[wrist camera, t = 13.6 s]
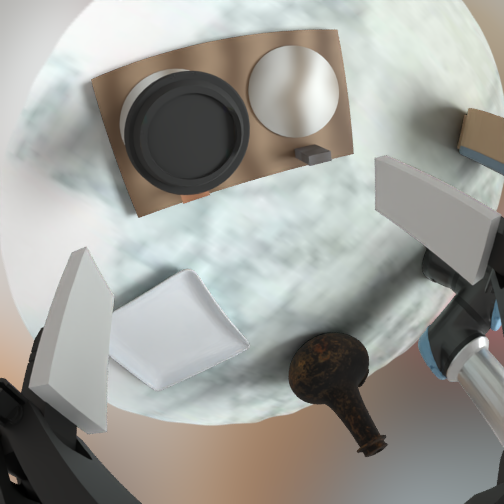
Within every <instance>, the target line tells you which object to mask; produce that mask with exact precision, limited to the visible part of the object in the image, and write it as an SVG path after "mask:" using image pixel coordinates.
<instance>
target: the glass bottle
mask: <svg viewBox="0 0 504 504" xmlns="http://www.w3.org/2000/svg"><path fill="white" fill-rule="evenodd" d="M368 367H369V356H368V353H367V350H366V348H365V347H364V345H363V344H362V343H361V342H360V341H359V340H357V339H356V338H354V337H352V336H350V335H347V334H343V333H326V334H322V335H319V336H317V337H315V338H313V339H311V340H309V341H308V342H307V343H305V344H304V345H303V346H302V347H301V348H300V349H299V350H298V352H297V353H296V354H295V356H294V358H293V360H292V361H291V364H290V368H289V384H290V387H291V389H292V391H293V392H294V394H295V395H296V396H297V397H298V398H300V399H301V400H303V401H305V402H307V403H311V404H326V405H328V406H329V407H330V408H331V409H332V410H333V411H334V412H335V413H336V414H337V415H338V417H339V418H340V419H341V420H342V422H343V423H344V424H345V426H346V427H347V428H348V430H349V431H350V432H351V434H352V435H353V437H354V439H355V440H356V442H357V443H358V445H359V446H360V448H359V449H358V450H357V452H358V453H359V452H363V453H364V455H365V457H369V456H372V455H375V454H376V453H378V452H380V451H382V450H383V449H384V448H385V447H386V446H387V443H385V442H384V439H385V438H386V435H380V433H379V432H378V430H377V428H376V426H375V424H374V422H373V421H372V419H371V417H370V415H369V413H368V411H367V409H366V407H365V405H364V403H363V400H362V398H361V395H360V392H359V389H358V387H361V386H362V384H363V383H364V382H365V380H366V378H367V376H368V373H369V369H368Z"/></svg>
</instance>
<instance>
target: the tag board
mask: <svg viewBox="0 0 504 504" xmlns="http://www.w3.org/2000/svg"><path fill="white" fill-rule="evenodd" d="M180 71H201V72H206V73H209V74H212V75H215V76H217V77H219V78H221V79H223V80H224V81H226V82H227V83H228V84H230V85H231V86H232V87H233V88H234V89H235V90H236V91H237V93H238V94H239V95H240V97H241V98H242V100H243V102H244V104H245V106H246V109H247V112H248V115H249V122H250V136H249V143H248V147H247V150H246V153H245V156H244V158H243V160H242V162H241V163H240V165H239V166H238V168H237V169H236V171H235V172H234V173H233V174H232V175H231V176H230V177H229V178H228V179H227V180H226V181H225V182H223V183H222V184H220V185H219V186H217V187H215V188H213V189H211V190H209V191H206V192H203V193H200V194H194V195H177V194H172V193H168V192H165V191H163V190H161V189H159V188H157V187H155V186H153V185H152V184H151V183H149V182H148V181H147V180H146V179H144V178H143V177H142V176H141V175H140V174H139V173H138V172H137V170H136V169H135V168H134V166H133V165H132V163H131V161H130V159H129V157H128V154H127V152H126V148H125V142H124V128H125V122H126V118H127V115H128V112H129V110H130V108H131V106H132V104H133V102H134V101H135V99H136V98H137V97H138V95H139V94H140V93H141V92H142V91H143V90H144V89H145V88H146V87H147V86H148V85H150V84H151V83H153V82H154V81H156V80H157V79H159V78H161V77H163V76H166V75H168V74H171V73H175V72H180ZM91 81H92V85H93V88H94V92H95V96H96V99H97V102H98V106H99V109H100V112H101V116H102V119H103V122H104V125H105V128H106V131H107V134H108V137H109V140H110V143H111V146H112V149H113V152H114V155H115V158H116V161H117V163H118V166H119V169H120V172H121V174H122V177H123V180H124V182H125V185H126V188H127V190H128V193H129V195H130V198H131V201H132V203H133V206H134V208H135V210H136V213H137V215H138V218H140V217H142V216H145V215H148V214H151V213H153V212H156V211H159V210H162V209H165V208H167V207H170V206H173V205H176V204H179V203H182V202H183V204H184V203H187V202H190V201H193V200H196V199H199V198H202V197H205V196H208V195H210V194H209V193H212V192H215V191H218V190H222V189H225V188H228V187H231V186H235V185H238V184H241V183H245V182H248V181H251V180H255V179H258V178H262V177H265V176H269V175H272V174H276V173H279V172H283V171H287V170H290V169H294V168H298V167H302V166H306V165H309V166H312V165H315V164H319V163H323V162H327V161H332V159H334V158H338V157H342V156H346V155H351V154H354V153H353V140H352V128H351V118H350V109H349V100H348V92H347V84H346V77H345V70H344V64H343V58H342V52H341V46H340V41H339V36H338V30H295V31H281V32H270V33H261V34H253V35H246V36H239V37H233V38H227V39H221V40H216V41H211V42H206V43H202V44H197V45H193V46H189V47H185V48H181V49H177V50H173V51H170V52H166V53H163V54H159V55H156V56H153V57H150V58H146V59H143V60H140V61H137V62H134V63H132V64H129V65H126V66H123V67H121V68H118V69H115V70H113V71H110V72H108V73H105V74H103V75H101V76H98V77H96V78H93V79H91Z"/></svg>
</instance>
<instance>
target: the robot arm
mask: <svg viewBox="0 0 504 504" xmlns="http://www.w3.org/2000/svg"><path fill="white" fill-rule="evenodd" d="M375 210H376V211H378V212H379V213H380V214H382V215H383V216H385V217H386V218H388V219H389V220H390V221H392V222H393V223H395V224H396V225H397V226H399V227H400V228H402V229H403V230H404V231H406V232H407V233H408V234H410V235H411V236H412V237H414V238H415V239H416V240H418V241H419V242H420V243H422V244H423V245H424V246H425V247H427V248H428V249H427V251H426V253H425V256H424V260H423V267H422V268H423V273H424V275H425V276H426V277H427V278H429V279H430V280H431V281H433V282H436V283H438V284H441V285H443V286H445V287H448V288H450V289H452V290H453V291H454V292H455V293H456V295H455V296H454V298H453V299H452V300H451V301H450V303H449V304H448V305H447V306H446V308H445V309H444V310H443V311H442V312H441V314H440V315H439V316H438V317H437V318H436V319H435V321H434V322H433V323H432V324H431V325H429V326H428V327H427V329H426V331H425V332H424V333H423V334H422V336H421V337H420V338H419V342H418V347H419V350H420V353H421V355H422V357H423V359H424V361H425V362H426V364H427V365H428V366H429V367H430V369H431V371H432V372H433V373H434V374H435V376H437V377H438V378H439V379H441V380H444V379H446V378H447V379H448V380H449V381H451V382H456V381H459V383H460V384H461V385H462V387H463V388H464V390H465V391H466V392H467V394H468V395H469V396H470V398H471V399H472V401H473V402H474V404H475V405H476V407H477V408H478V409H479V411H480V412H481V414H482V415H483V417H484V418H485V420H486V421H487V423H488V424H489V426H490V427H491V429H492V430H493V432H494V433H495V435H496V436H497V438H498V440H499V441H500V443H501V444H502V446H503V448H504V367H503V366H502V365H501V364H500V363H499V362H498V361H497V359H496V358H495V357H494V356H493V355H492V354H491V353H490V352H489V351H488V346H489V341H488V339H487V337H486V336H485V334H486V333H487V332H488V330H489V329H490V328H491V329H492V330H494V331H496V330H498V329H499V327H500V326H501V325H502V329H503V334H504V218H503V217H502V216H501V214H499V213H498V212H496V211H495V210H493V209H492V208H490V207H488V206H487V205H485V204H483V203H482V202H480V201H478V200H476V199H475V198H473V197H471V196H469V195H468V194H466V193H464V192H462V191H460V190H458V189H457V188H455V187H453V186H451V185H449V184H447V183H445V182H443V181H441V180H439V179H437V178H435V177H433V176H431V175H429V174H427V173H425V172H423V171H421V170H419V169H417V168H414V167H412V166H410V165H408V164H406V163H403V162H401V161H399V160H396V159H394V158H392V157H389V156H387V155H386V156H381V157H377V158H375ZM113 305H114V295H113V293H112V292H111V290H110V288H109V287H108V285H107V283H106V281H105V280H104V278H103V276H102V274H101V273H100V271H99V269H98V267H97V265H96V264H95V262H94V260H93V258H92V256H91V254H90V252H89V250H88V249H87V247H84V248H82V249H79V250H77V251H74V252H72V253H71V255H70V258H69V260H68V263H67V265H66V267H65V270H64V272H63V275H62V277H61V280H60V282H59V285H58V288H57V290H56V293H55V296H54V299H53V301H52V304H51V307H50V310H49V313H48V316H47V319H46V322H45V326H44V327H43V328H41V330H40V332H39V333H38V335H37V336H36V338H35V340H34V343H33V347H32V351H31V352H32V353H31V354H30V358H29V363H28V365H27V370H26V373H25V378H24V382H23V387H22V391H21V393H20V392H19V391H18V390H17V389H16V388H15V387H14V386H13V385H12V384H10V383H9V382H8V381H7V380H6V379H4V378H0V504H142V503H141V502H140V501H138V500H137V499H136V498H135V497H134V496H133V495H132V494H131V493H130V492H129V491H128V490H127V489H126V488H125V487H124V486H123V485H122V484H121V483H120V482H119V481H118V480H117V479H116V478H115V477H114V476H113V475H112V474H111V473H110V472H109V471H108V470H107V469H106V468H105V466H104V465H103V464H102V463H101V462H100V461H99V460H98V458H97V457H96V456H95V455H94V454H93V453H92V451H91V450H90V449H89V448H88V447H87V445H86V444H85V443H84V442H83V440H81V439H80V438H79V437H78V436H76V433H77V427H78V428H80V429H81V430H83V431H84V432H86V433H87V434H95V433H103V432H107V379H108V359H109V344H110V333H111V322H112V313H113ZM8 473H9V474H11V475H13V476H15V477H16V478H17V482H18V484H15V483H13V482H11V481H10V478H9V474H8ZM465 504H504V451H503V453H502V456H501V459H500V464H499V473H498V480H497V486H495V487H493V488H491V489H489V490H486V491H484V492H481V493H478V494H476V495H474V496H473V497H472V498H470V499H469V500H468V501H467V502H466V503H465Z"/></svg>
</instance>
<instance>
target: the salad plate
mask: <svg viewBox="0 0 504 504" xmlns="http://www.w3.org/2000/svg"><path fill="white" fill-rule="evenodd" d="M249 347H250V344H249V342H248V340H247V339H246V338H245V337H244V335H243V334H242V333H241V332H240V331H239V330H238V329H237V328H236V327H235V325H234V324H233V323H232V322H231V321H230V319H229V318H228V317H227V316H226V314H225V313H224V312H223V310H222V309H221V308H220V306H219V305H218V304H217V302H216V301H215V299H214V298H213V296H212V295H211V293H210V292H209V290H208V289H207V287H206V286H205V284H204V283H203V281H202V280H201V278H200V277H199V276H198V274H197V273H196V272H195V271H194V270H192V269H183V270H181V271H179V272H177V273H176V274H174V275H172V276H171V277H169V278H168V279H166V280H164V281H163V282H161V283H160V284H158V285H157V286H155V287H153V288H152V289H150V290H149V291H147V292H145V293H144V294H142V295H140V296H139V297H137V298H135V299H134V300H132V301H130V302H129V303H127V304H125V305H124V306H122V307H120V308H118V309H116V310H115V311H113V313H112V322H111V333H110V344H109V356H110V357H111V358H112V359H114V360H115V361H116V362H117V363H119V364H120V365H121V366H122V367H124V368H125V369H126V370H128V371H129V372H130V373H132V374H133V375H134V376H135V377H137V378H138V379H139V380H141V381H142V382H144V383H145V384H146V385H148V386H149V387H150V388H152V389H153V390H155V391H161V390H164V389H166V388H168V387H171V386H173V385H175V384H177V383H179V382H182V381H184V380H186V379H188V378H190V377H192V376H195V375H197V374H199V373H201V372H203V371H205V370H207V369H209V368H211V367H213V366H215V365H217V364H219V363H221V362H224V361H226V360H228V359H230V358H232V357H234V356H236V355H238V354H240V353H242V352H243V351H245V350H247V349H248V348H249Z"/></svg>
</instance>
